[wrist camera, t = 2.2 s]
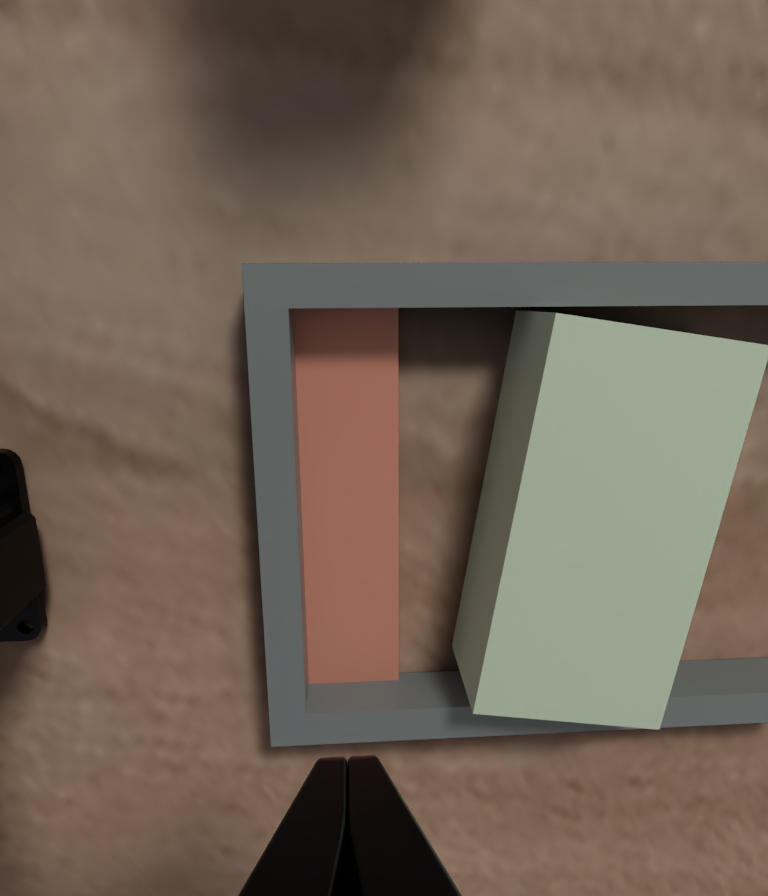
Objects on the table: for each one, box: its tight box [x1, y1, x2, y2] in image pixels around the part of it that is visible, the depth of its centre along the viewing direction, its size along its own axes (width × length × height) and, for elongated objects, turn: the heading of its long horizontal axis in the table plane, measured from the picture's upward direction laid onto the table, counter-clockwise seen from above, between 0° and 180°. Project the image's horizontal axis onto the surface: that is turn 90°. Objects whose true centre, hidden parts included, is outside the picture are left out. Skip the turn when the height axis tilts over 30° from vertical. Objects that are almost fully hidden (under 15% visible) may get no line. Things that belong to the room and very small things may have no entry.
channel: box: [242, 262, 768, 747], centre depth 20 cm, size 19×15×2 cm
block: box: [452, 310, 768, 730], centre depth 19 cm, size 6×12×4 cm, turn 172°
